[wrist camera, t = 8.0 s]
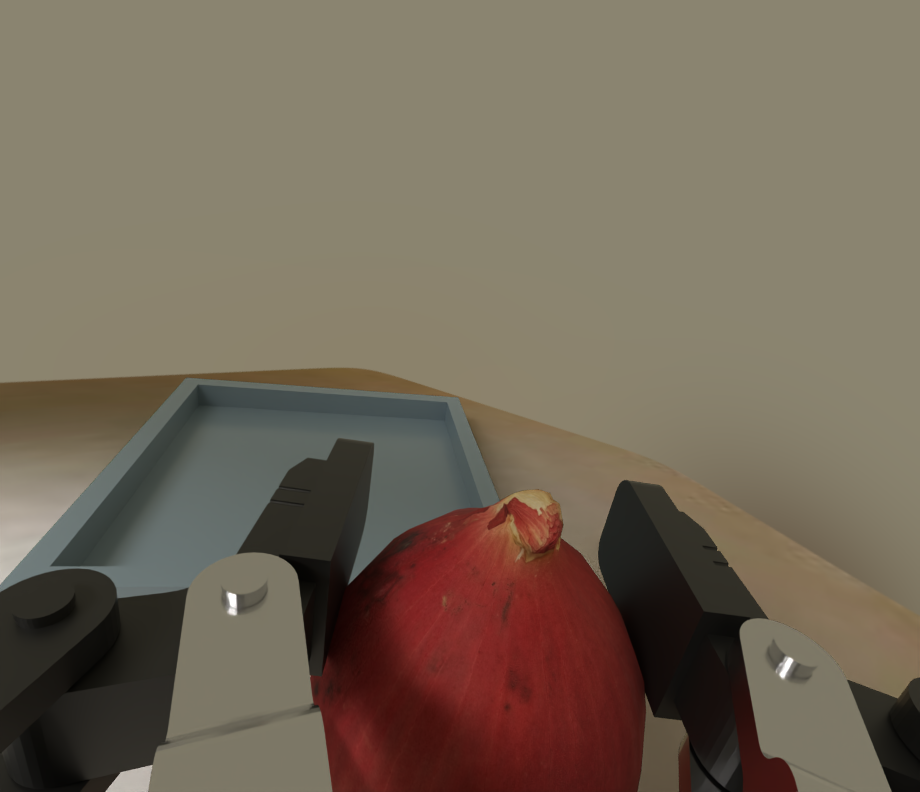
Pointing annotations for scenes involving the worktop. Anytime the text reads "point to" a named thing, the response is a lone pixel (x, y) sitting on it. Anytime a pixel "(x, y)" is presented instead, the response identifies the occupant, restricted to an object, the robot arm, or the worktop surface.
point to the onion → (482, 663)
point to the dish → (255, 478)
